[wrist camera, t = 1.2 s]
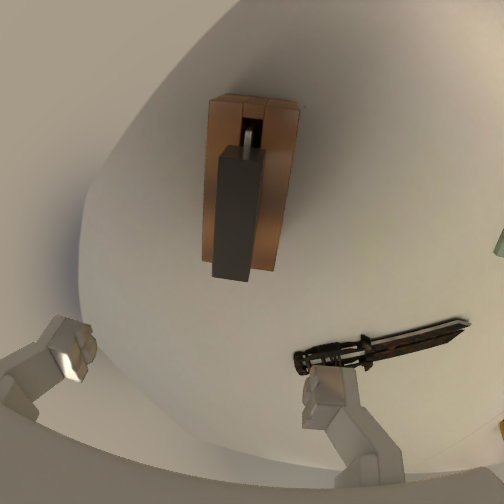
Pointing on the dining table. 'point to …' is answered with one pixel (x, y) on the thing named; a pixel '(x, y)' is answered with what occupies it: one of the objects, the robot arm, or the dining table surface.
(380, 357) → the knife
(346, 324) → the dining table surface
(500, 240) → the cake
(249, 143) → the metal bench scraper
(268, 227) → the knife block
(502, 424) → the bread
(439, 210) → the dining table surface
